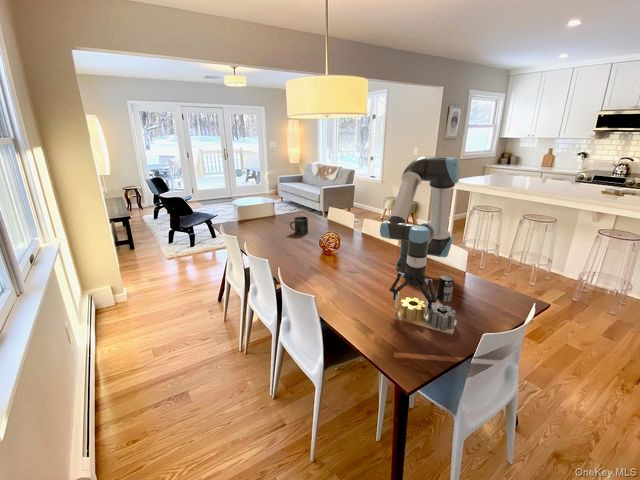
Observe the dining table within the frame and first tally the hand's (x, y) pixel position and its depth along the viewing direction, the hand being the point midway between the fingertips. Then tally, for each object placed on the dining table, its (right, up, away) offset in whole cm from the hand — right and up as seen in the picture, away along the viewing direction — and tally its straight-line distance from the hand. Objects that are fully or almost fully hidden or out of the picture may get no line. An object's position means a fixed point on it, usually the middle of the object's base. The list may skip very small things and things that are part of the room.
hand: (410, 310), depth 135 cm
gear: (+11, -4, -5) cm, 12 cm away
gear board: (+5, -4, -2) cm, 7 cm away
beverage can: (+20, +2, +14) cm, 24 cm away
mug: (-55, +35, +115) cm, 132 cm away
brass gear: (+1, -2, 0) cm, 2 cm away
